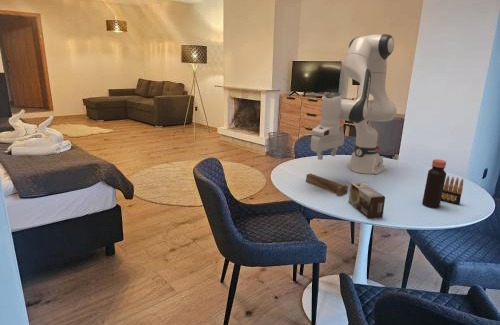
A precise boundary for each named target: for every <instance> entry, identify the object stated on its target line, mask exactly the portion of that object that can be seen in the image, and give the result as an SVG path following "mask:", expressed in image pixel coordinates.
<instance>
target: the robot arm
mask: <svg viewBox="0 0 500 325" xmlns="http://www.w3.org/2000/svg"><path fill="white" fill-rule="evenodd" d="M394 39H395V38H394V37H393V36H392V35H391V34H385V33H382V34H370V35H364V36H357V37H354V38H352V40H351V41H350V42H349V45H348V49H347V51H346V54H345V57H344V59H343V63H342V69H343V72H344V74H345V75H346V76H347V77H349V78H350V79H352V80H354V81H356V82H358V83H359V90H358V96H357V98H356V99H346V98H342V94H341V93H339V92H335V91H334V92H333V91H332V92H326V93H325V94H324V96H323V98H322V102H321V109H320V116H321V117H320V121H319V123H318V125H317V126H316V127H314V128H313V129H311V134H312V135H311V137H310V149H311V152H315V153H316V156H317V160H319V161H321V160H323V157H324V156H323V155H322V153H323V152H324V151H327V150H330V149H331V150H332V151H331V152H330V156H331V157H334V156H336V154H337V151H338V149H339V147H342V146H344V143H345V132H344V128H343V127H342V126H341V121H347V122H352V123H353V125H354V128H355V131H356V132H355V135H356V136H355V144H354V146H353V152H352V153H351V157H350V162H349V163H348V165H347V166H348V168H349V170H350V171H352V172H355V173H358V174H367V175H369V174H370V175H379V174H380V173H382V172H384V171H385V170H387V166H386V165H383V164H384V160H383V159H384V158H383V157H382V156H381V155H380V154H379V153H378V150H381V145H380V146H379V145H378V144H377V143H378V136H379V133H378V131H377V130H376V129H375V128H374V127H372V126H370V125H369V123H368V122H377V123H378V122H381V123H383V122H391V121H392V120H393V119H394V118H395V117H396V115H397V107H396V105H395V104H394V102H393V101H392V100H390V98H389V96H388V95H387V92H386V78H387V70H388V68H387V67H388V66H387V65H388V64H387V63H388V60H387V59H388V57H390V56H391V55H392V53H393V51H394V49H395V48H394V47H395V40H394ZM370 95H371V96H372V98H373V99H370V98H369V97H370ZM369 99H370V100H369Z"/></svg>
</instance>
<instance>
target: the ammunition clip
mask: <svg viewBox="0 0 500 325" xmlns="http://www.w3.org/2000/svg"><path fill="white" fill-rule="evenodd" d="M454 177H455V176H452V177H451V178H450V175H448V176H446V179H445V183H444V188H443V193H442V198H441V202H443V203H447V204H450V205H451V204H452V205H456V206H460V204H461V197H462V193H463V188H464V178H461V180H460V182H459V177H457V178H456V179H455V178H454Z"/></svg>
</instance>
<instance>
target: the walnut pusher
mask: <svg viewBox="0 0 500 325" xmlns="http://www.w3.org/2000/svg"><path fill="white" fill-rule="evenodd" d="M305 182H306V183H308V184H310V185H312V186H315V187H318V188H321V189H324V190H325V191H329V192H330V193H334V194H335V195H336V196H337V197H341V196H343V195H346V194H348V191H349V185H348V184H341V183H338V182H335V181H333V180H330V179H327V178H324V177H322V176H318V175H316V174H314V173H312V172H311V173H307V174H306V176H305Z"/></svg>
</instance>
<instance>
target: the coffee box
mask: <svg viewBox="0 0 500 325" xmlns="http://www.w3.org/2000/svg"><path fill="white" fill-rule="evenodd" d="M349 187H350V188H349V193H348V194H349V197H348V203H349V204H350V205H352V207H353V208H355V209H356V210H358V211H359V212H360V213H361V214H363V215H364V216H365V217H366V218H367V219H378V218H380V219H381V218H383V215H384V210H385V209H384V208H385V201H386V196H384V195H383V194H382V193H380V192H378V191H377V190H376V189H374V188H372V187H371V186H370V185H368V184H366V183H365V182H362V181H361V182H351V183H350V186H349Z"/></svg>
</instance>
